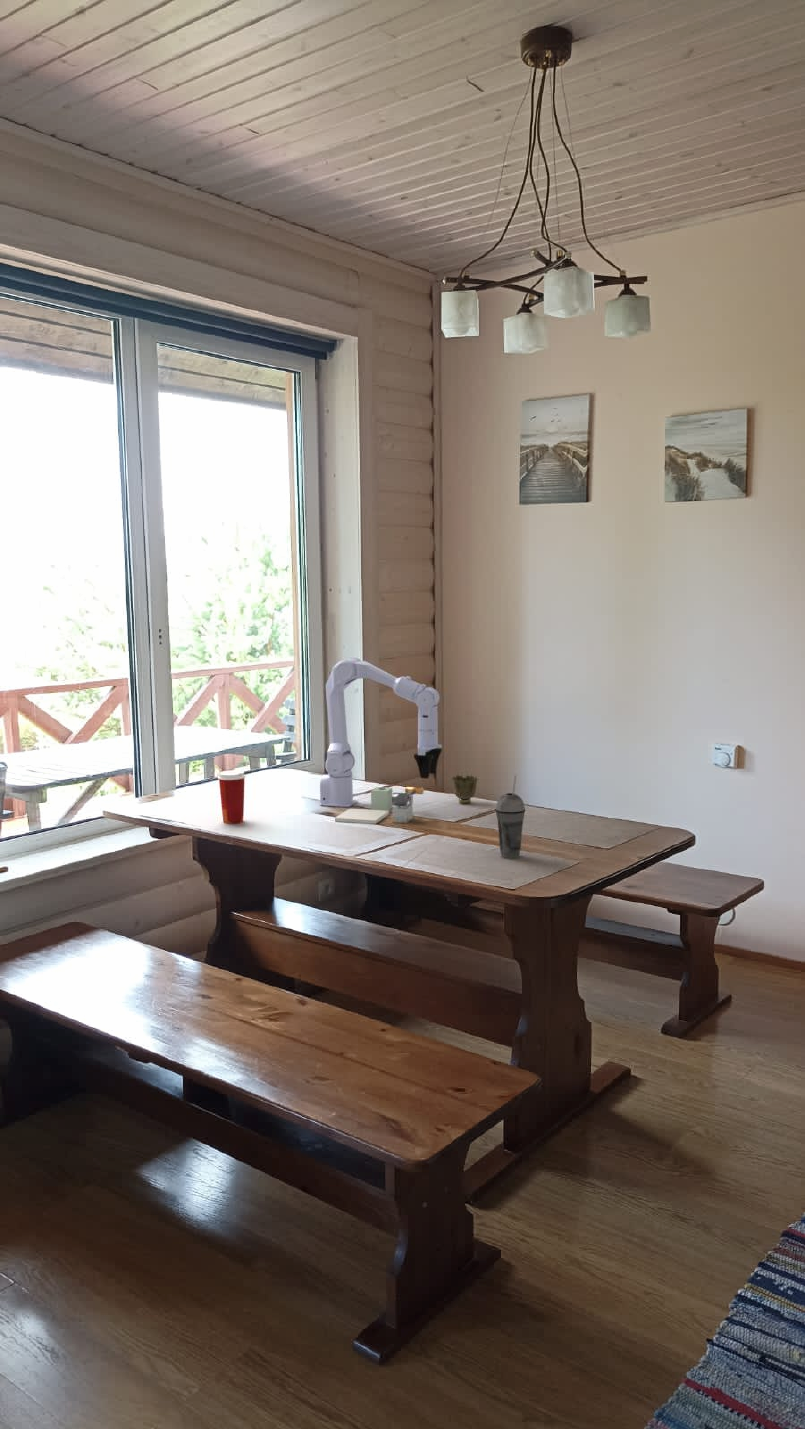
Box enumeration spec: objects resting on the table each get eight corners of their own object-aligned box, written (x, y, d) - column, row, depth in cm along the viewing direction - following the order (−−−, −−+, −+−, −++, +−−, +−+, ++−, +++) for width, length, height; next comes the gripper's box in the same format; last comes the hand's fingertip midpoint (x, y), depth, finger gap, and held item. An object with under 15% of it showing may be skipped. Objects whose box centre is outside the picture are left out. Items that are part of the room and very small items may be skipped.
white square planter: (392, 822, 280) (391, 798, 279) (398, 817, 285) (398, 794, 284) (407, 823, 278) (406, 799, 277) (413, 818, 284) (413, 795, 283)
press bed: (335, 821, 281) (335, 817, 281) (349, 811, 293) (349, 808, 293) (375, 823, 278) (375, 820, 278) (388, 814, 289) (388, 810, 289)
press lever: (389, 806, 278) (389, 793, 277) (407, 793, 294) (407, 781, 294) (406, 807, 276) (406, 794, 276) (423, 794, 293) (423, 782, 292)
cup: (477, 800, 305) (477, 774, 304) (477, 806, 298) (476, 779, 297) (453, 800, 306) (452, 774, 305) (451, 805, 299) (451, 779, 298)
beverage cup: (492, 852, 247) (492, 773, 245) (521, 851, 248) (522, 772, 245) (498, 861, 240) (498, 778, 237) (528, 859, 241) (528, 778, 238)
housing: (371, 810, 294) (370, 789, 294) (376, 806, 299) (376, 786, 298) (387, 811, 293) (387, 790, 292) (392, 807, 298) (392, 786, 297)
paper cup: (252, 819, 285) (250, 771, 283) (237, 825, 278) (235, 776, 276) (229, 817, 288) (227, 769, 286) (213, 823, 281) (211, 774, 279)
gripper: (434, 733, 284) (434, 781, 286) (447, 726, 298) (447, 771, 299) (410, 733, 286) (411, 779, 288) (424, 725, 300) (424, 770, 301)
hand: (428, 775), depth 294 cm, fingers open, 7 cm apart
